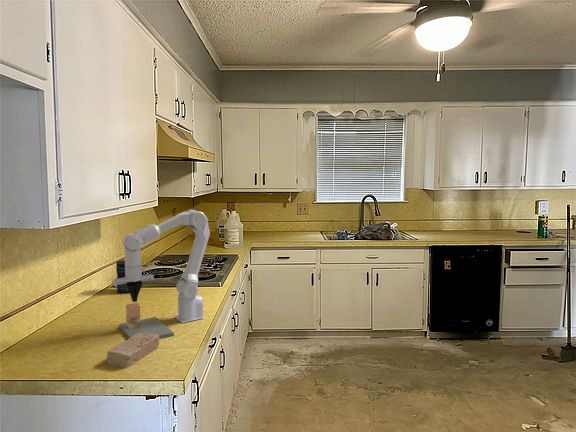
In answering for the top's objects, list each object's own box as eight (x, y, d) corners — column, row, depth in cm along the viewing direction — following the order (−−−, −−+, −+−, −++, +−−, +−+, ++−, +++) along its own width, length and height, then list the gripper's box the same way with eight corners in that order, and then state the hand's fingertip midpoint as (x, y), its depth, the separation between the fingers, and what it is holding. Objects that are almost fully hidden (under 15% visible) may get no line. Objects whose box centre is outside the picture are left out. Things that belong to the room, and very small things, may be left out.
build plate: (155, 319, 166) (155, 316, 166) (173, 335, 150) (173, 332, 150) (119, 327, 158) (118, 324, 158) (134, 344, 142) (133, 341, 142)
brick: (128, 369, 125) (127, 354, 125) (105, 365, 128) (104, 350, 127) (160, 347, 141) (160, 334, 140) (139, 344, 143) (139, 331, 143)
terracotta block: (137, 313, 159) (136, 303, 158) (140, 316, 155) (139, 305, 155) (126, 315, 156) (126, 304, 156) (129, 318, 153) (128, 307, 153)
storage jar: (141, 291, 206) (140, 261, 204) (121, 295, 199) (120, 264, 198) (133, 287, 213) (132, 258, 212) (113, 290, 206) (112, 261, 205)
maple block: (137, 323, 159) (137, 313, 159) (140, 326, 156) (140, 315, 155) (126, 325, 157) (126, 315, 156) (129, 328, 154) (129, 318, 153)
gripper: (115, 270, 148) (117, 307, 149) (156, 265, 156) (157, 300, 158) (110, 266, 153) (112, 302, 155) (149, 262, 162) (150, 295, 163)
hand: (134, 301), depth 157 cm, fingers closed
